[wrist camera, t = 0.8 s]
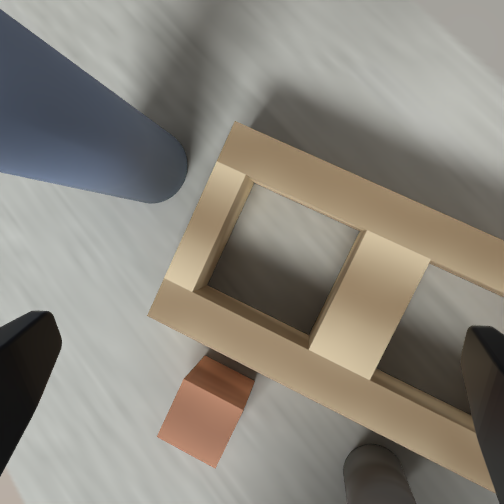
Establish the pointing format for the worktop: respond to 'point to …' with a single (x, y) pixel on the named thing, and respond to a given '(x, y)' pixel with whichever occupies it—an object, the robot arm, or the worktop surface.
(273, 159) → the socket board
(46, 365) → the robot arm
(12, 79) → the blue-grey cylinder
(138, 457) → the worktop surface
